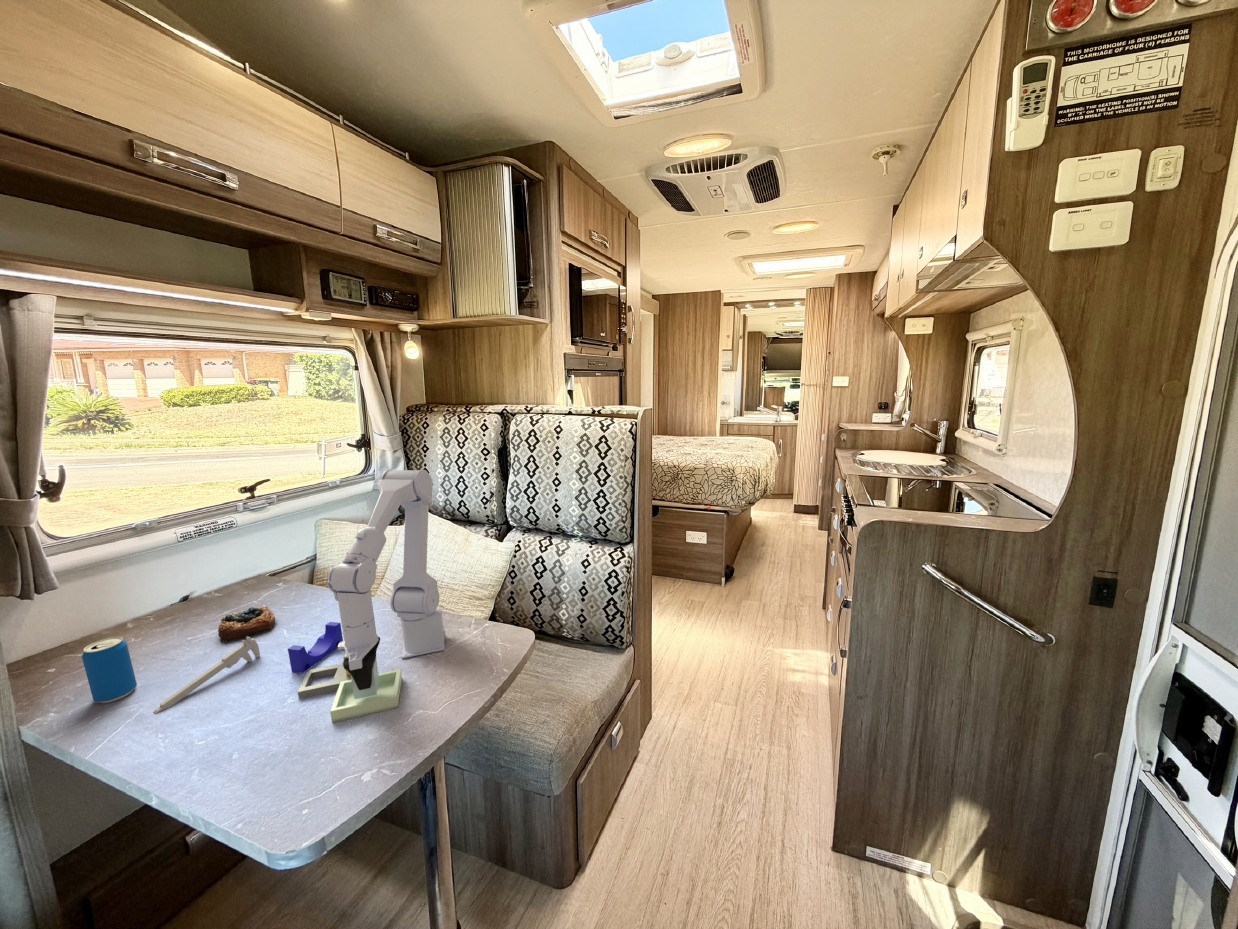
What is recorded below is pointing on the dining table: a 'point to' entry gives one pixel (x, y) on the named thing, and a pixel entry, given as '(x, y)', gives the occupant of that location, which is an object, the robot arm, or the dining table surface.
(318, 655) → the cable clip
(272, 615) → the pastry
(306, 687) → the block
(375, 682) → the grey-green rectangular block
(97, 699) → the beverage can
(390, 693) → the parts tray
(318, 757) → the dining table surface
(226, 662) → the caliper
